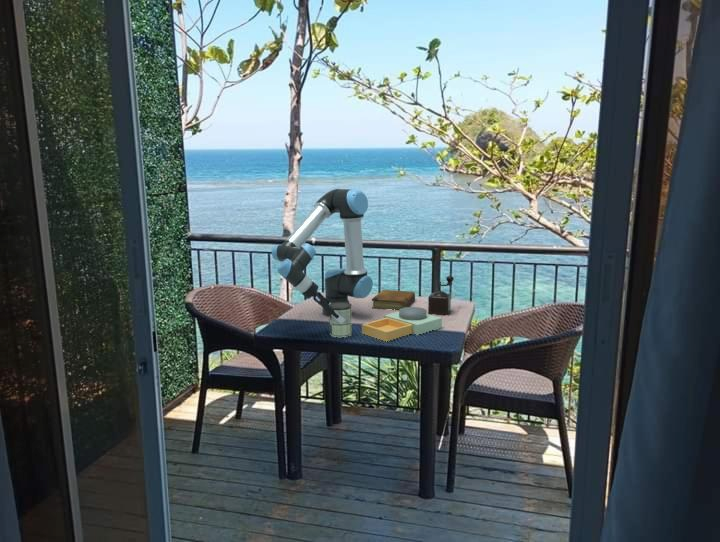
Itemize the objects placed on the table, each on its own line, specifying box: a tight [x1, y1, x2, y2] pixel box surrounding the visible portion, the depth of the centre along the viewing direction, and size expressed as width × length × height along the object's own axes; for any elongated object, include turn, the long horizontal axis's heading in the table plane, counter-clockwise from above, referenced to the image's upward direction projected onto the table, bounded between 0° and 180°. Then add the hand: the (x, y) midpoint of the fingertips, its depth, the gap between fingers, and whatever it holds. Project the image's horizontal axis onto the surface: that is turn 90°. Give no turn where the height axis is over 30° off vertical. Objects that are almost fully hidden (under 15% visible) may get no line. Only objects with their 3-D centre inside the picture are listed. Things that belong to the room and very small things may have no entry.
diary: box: [371, 289, 416, 311], centre depth 316 cm, size 23×19×6 cm
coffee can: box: [329, 302, 353, 339], centre depth 263 cm, size 10×10×14 cm
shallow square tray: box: [361, 317, 413, 343], centre depth 264 cm, size 16×16×4 cm
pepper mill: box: [427, 275, 455, 316], centre depth 300 cm, size 16×11×18 cm
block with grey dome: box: [383, 306, 443, 336], centre depth 274 cm, size 22×17×8 cm
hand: (340, 317), depth 262 cm, fingers open, 13 cm apart
